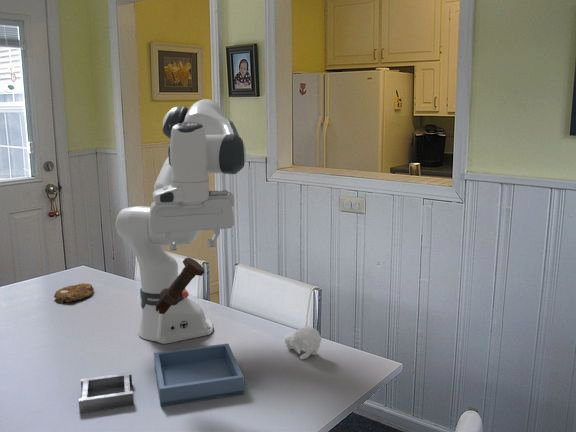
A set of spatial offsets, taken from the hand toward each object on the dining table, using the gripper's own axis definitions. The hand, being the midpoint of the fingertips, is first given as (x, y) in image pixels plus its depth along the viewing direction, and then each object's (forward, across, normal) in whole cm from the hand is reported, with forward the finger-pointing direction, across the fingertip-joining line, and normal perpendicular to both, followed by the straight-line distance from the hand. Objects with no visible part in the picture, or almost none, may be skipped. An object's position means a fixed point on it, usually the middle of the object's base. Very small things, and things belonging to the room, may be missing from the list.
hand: (192, 248), depth 139 cm
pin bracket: (+35, +22, +2) cm, 41 cm away
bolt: (+16, +9, -1) cm, 18 cm away
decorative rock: (+36, +34, -75) cm, 90 cm away
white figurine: (+35, -30, -7) cm, 47 cm away
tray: (+35, 0, 0) cm, 35 cm away
